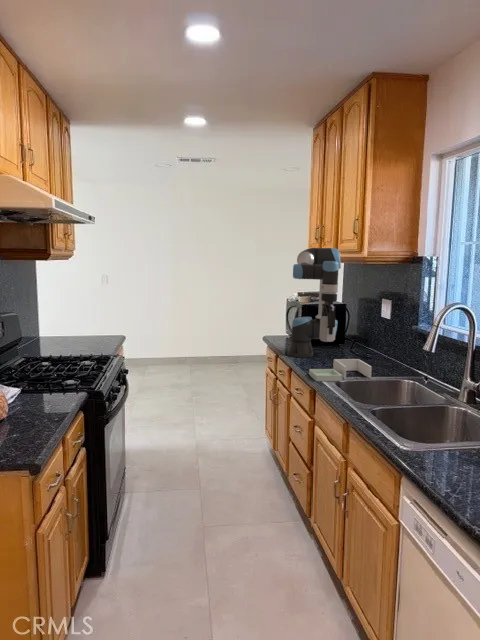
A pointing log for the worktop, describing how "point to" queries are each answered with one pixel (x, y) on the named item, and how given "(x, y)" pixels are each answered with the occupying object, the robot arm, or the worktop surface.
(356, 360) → the bay
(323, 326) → the can
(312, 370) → the tray
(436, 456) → the worktop surface
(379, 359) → the worktop surface
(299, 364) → the worktop surface
